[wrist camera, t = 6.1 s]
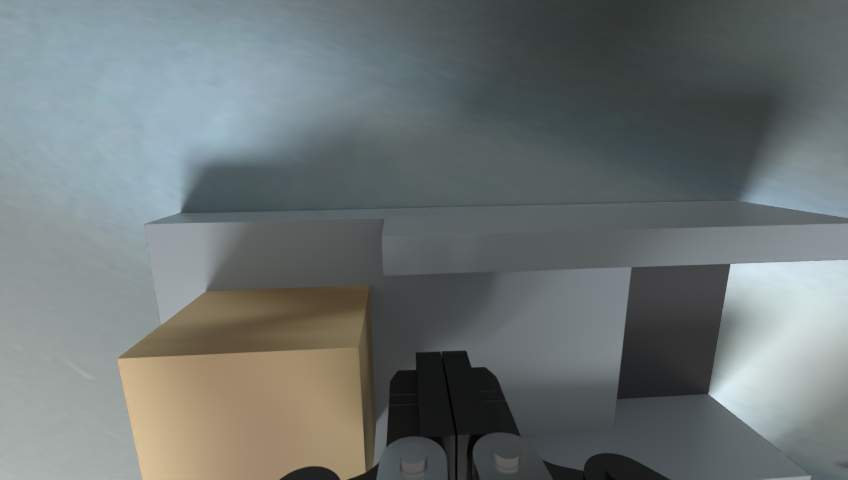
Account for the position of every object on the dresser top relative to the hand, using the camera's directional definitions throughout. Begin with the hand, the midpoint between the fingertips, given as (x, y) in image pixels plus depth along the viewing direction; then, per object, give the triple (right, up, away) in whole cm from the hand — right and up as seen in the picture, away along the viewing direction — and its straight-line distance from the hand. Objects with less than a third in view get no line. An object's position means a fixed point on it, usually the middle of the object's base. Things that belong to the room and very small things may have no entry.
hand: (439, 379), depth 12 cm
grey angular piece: (+1, +1, +4) cm, 4 cm away
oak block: (-5, 0, +1) cm, 5 cm away
